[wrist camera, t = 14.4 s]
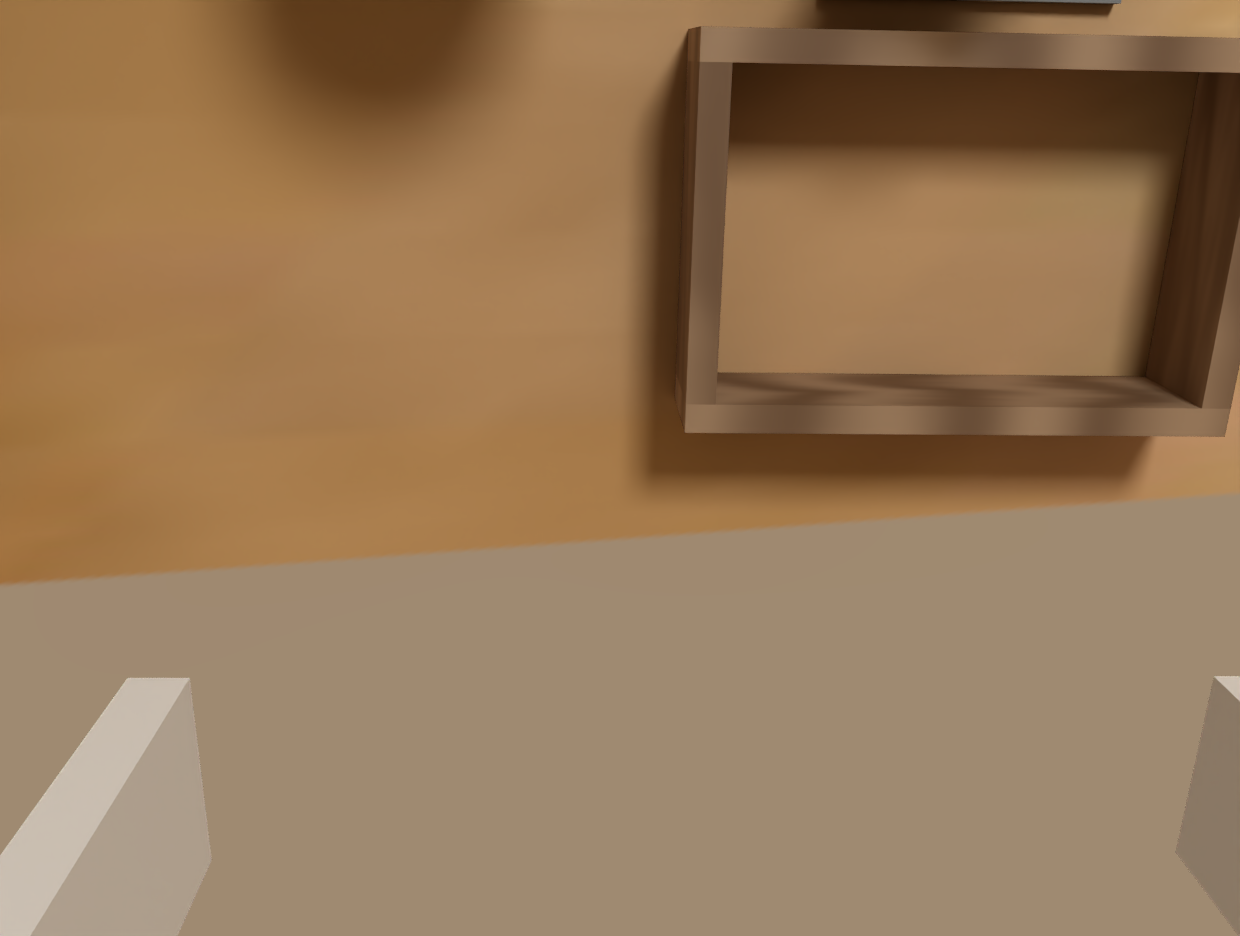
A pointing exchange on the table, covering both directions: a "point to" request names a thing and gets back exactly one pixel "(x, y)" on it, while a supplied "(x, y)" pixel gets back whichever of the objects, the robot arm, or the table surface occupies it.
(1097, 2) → the pad
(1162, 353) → the shallow wooden tray
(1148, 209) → the table surface
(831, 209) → the table surface
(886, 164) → the table surface
